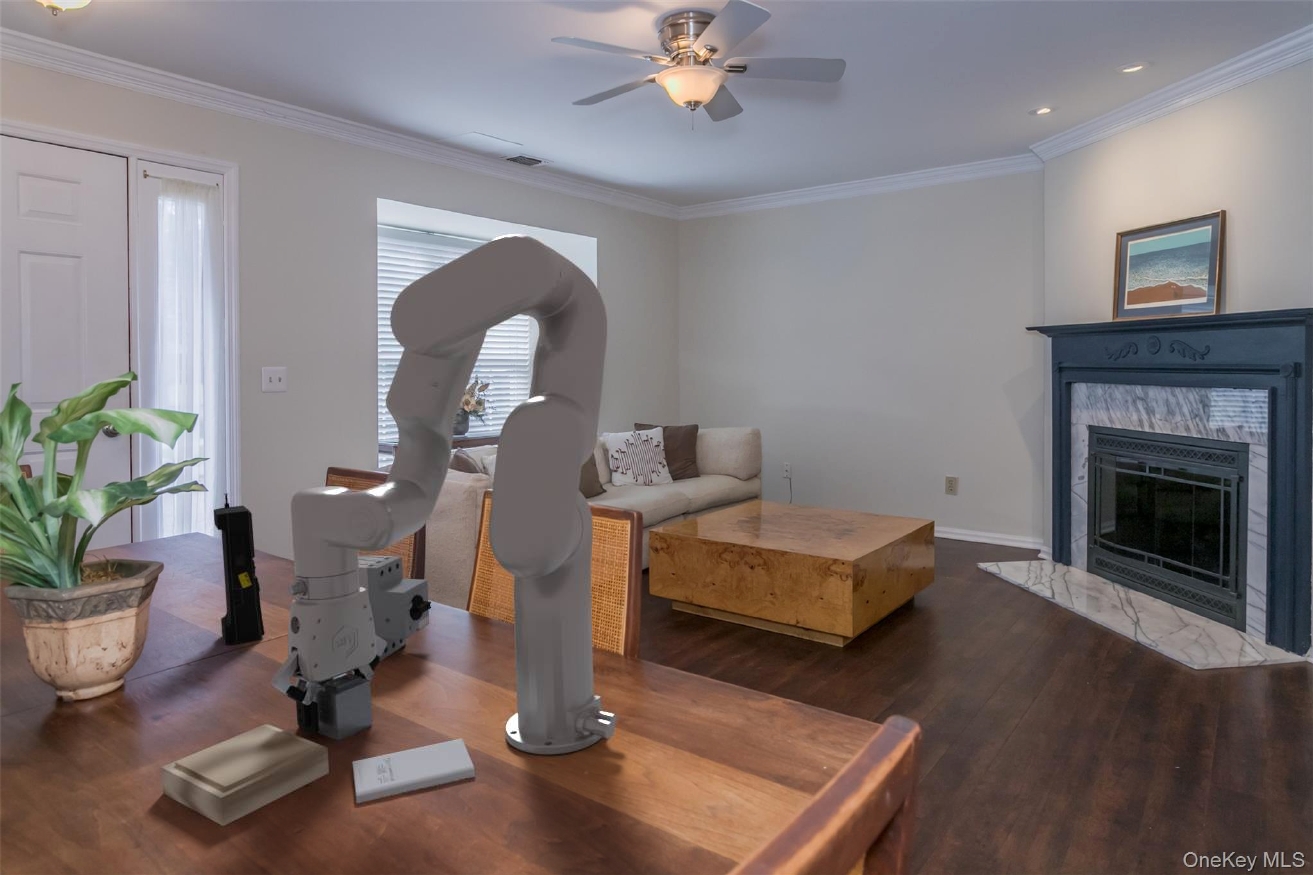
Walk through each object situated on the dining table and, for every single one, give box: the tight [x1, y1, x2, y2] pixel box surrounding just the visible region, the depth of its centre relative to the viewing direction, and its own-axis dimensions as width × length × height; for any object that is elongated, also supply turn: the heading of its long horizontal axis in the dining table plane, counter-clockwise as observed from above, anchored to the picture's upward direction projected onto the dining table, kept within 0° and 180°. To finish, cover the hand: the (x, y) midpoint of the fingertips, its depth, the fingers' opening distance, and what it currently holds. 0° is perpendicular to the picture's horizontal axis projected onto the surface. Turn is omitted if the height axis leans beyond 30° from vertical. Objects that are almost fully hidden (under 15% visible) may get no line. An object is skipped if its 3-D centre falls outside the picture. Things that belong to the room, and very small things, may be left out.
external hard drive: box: [351, 738, 476, 804], centre depth 88 cm, size 2×8×12 cm
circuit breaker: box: [358, 554, 432, 662], centre depth 126 cm, size 8×14×15 cm, turn 78°
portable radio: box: [213, 493, 266, 645], centre depth 134 cm, size 8×6×25 cm
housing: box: [304, 672, 373, 741], centre depth 100 cm, size 8×5×7 cm, turn 58°
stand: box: [160, 723, 330, 827], centre depth 86 cm, size 12×12×3 cm
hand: (335, 718), depth 100 cm, fingers open, 6 cm apart
